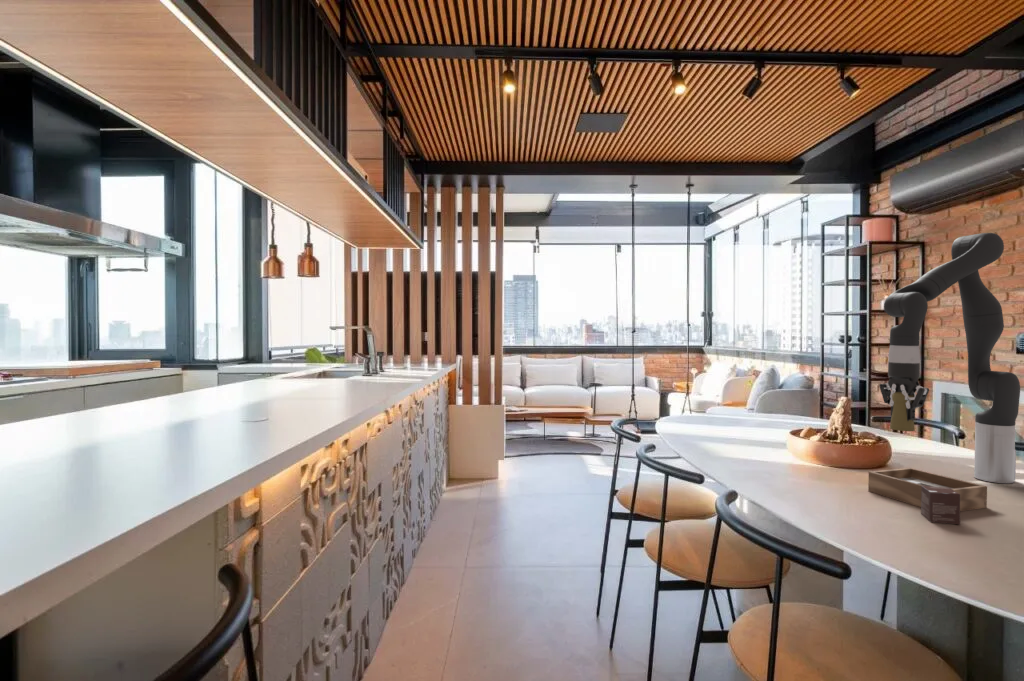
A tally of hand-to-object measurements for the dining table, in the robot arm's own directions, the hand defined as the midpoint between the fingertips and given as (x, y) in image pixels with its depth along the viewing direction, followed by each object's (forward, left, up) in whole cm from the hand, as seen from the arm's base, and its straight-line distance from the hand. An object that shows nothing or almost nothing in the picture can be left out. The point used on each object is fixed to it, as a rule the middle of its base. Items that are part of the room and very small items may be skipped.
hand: (902, 420), depth 161 cm
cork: (0, 0, -3) cm, 3 cm away
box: (+18, +24, -20) cm, 36 cm away
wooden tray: (+5, +11, -19) cm, 23 cm away
